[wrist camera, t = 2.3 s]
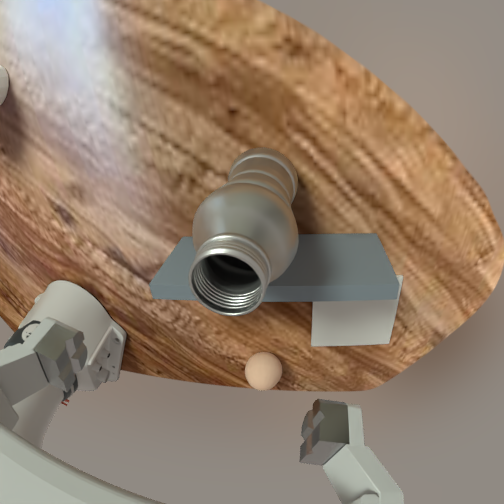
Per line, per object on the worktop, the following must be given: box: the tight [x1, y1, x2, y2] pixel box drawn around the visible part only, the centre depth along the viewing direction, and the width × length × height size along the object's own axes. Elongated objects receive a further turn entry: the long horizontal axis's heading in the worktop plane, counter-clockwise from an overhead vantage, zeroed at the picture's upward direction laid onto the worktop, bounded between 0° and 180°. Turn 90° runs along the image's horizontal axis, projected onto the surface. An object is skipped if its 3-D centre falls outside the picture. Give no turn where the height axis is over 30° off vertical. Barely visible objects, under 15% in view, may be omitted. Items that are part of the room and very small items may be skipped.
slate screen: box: [149, 234, 400, 302], centre depth 32 cm, size 6×22×10 cm, turn 95°
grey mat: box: [311, 275, 403, 346], centre depth 39 cm, size 11×11×1 cm
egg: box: [245, 352, 282, 391], centre depth 42 cm, size 5×5×6 cm
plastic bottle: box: [188, 148, 299, 316], centre depth 23 cm, size 6×7×20 cm
